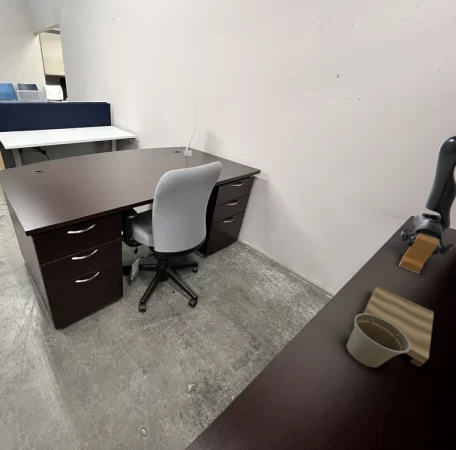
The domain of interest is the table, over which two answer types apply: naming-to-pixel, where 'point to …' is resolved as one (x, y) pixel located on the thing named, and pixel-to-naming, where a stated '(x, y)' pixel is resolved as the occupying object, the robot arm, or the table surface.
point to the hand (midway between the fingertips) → (422, 248)
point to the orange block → (419, 253)
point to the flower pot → (376, 340)
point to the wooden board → (404, 321)
